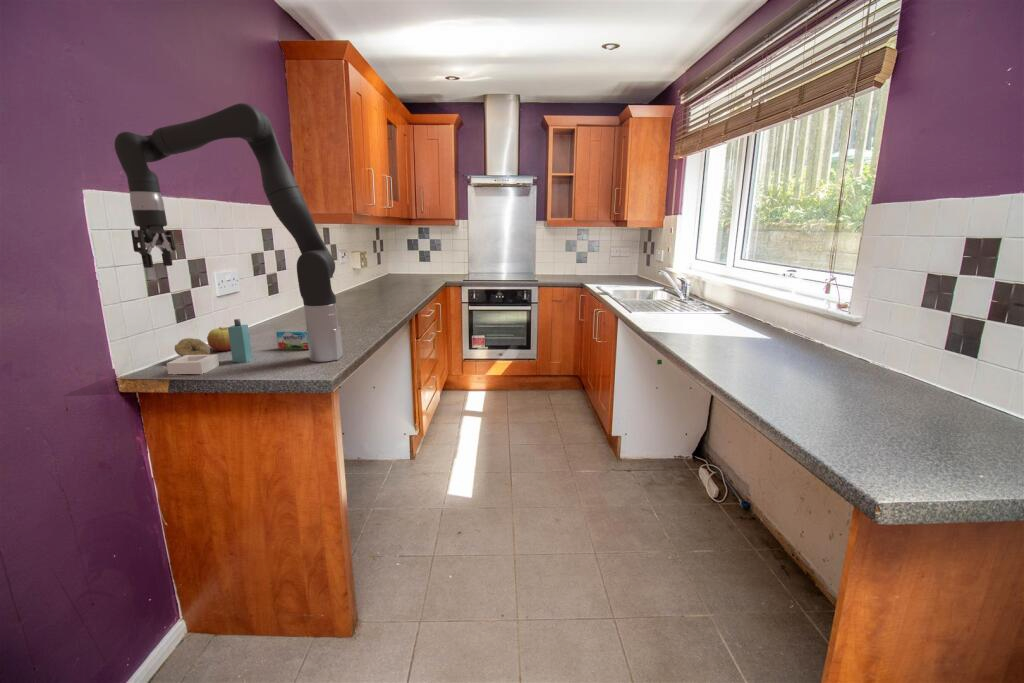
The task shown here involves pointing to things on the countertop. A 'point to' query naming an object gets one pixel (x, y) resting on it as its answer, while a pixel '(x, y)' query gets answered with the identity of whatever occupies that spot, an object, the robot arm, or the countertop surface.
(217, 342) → the apple
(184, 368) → the socket
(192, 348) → the fossil
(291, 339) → the blue printed box
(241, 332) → the teal block with knob
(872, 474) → the countertop surface
